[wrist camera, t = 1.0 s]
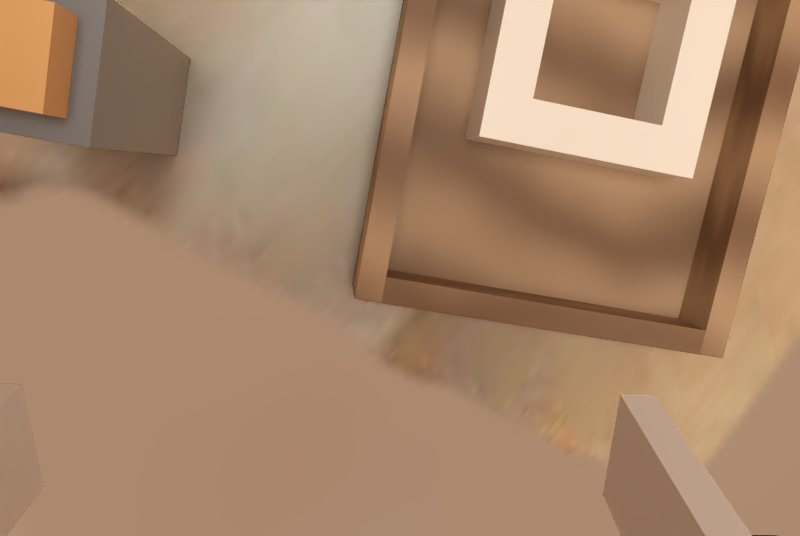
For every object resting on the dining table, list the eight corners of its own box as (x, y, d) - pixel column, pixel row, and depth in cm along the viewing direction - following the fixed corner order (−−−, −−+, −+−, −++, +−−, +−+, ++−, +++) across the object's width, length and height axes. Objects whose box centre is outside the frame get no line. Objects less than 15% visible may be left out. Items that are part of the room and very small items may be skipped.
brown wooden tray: (453, -281, 29) (469, -342, 25) (814, -178, 31) (874, -222, 27) (352, 284, 32) (355, 298, 29) (683, 339, 34) (722, 358, 31)
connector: (89, 37, 29) (-93, -59, 17) (190, 58, 30) (86, -21, 17) (77, 136, 30) (-106, 114, 17) (176, 155, 30) (67, 146, 18)
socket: (508, -81, 29) (527, -109, 26) (709, -31, 30) (749, -53, 27) (465, 139, 30) (478, 136, 28) (659, 177, 32) (692, 178, 29)
